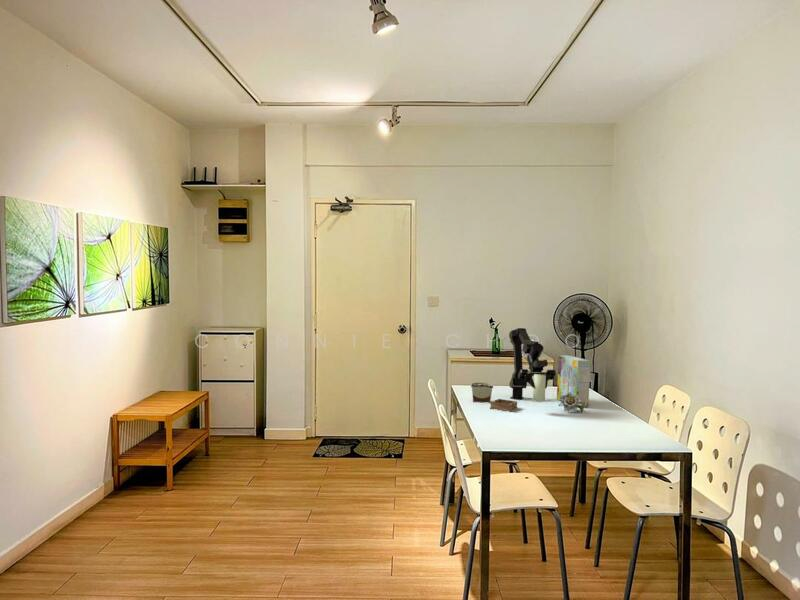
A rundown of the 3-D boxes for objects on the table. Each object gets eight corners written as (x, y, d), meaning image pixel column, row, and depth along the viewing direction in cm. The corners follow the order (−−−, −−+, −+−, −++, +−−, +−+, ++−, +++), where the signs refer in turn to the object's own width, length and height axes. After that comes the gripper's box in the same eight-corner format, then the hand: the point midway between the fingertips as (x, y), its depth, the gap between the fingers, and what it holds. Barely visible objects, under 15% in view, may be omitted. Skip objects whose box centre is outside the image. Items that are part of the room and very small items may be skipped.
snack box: (589, 407, 314) (592, 360, 313) (575, 407, 312) (577, 360, 311) (569, 398, 335) (571, 354, 334) (555, 399, 333) (557, 354, 332)
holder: (498, 405, 311) (498, 398, 311) (517, 408, 305) (517, 401, 305) (489, 408, 302) (490, 402, 302) (509, 412, 296) (510, 405, 296)
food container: (492, 400, 323) (492, 382, 322) (492, 402, 317) (493, 384, 316) (470, 399, 324) (470, 381, 324) (470, 401, 318) (471, 383, 317)
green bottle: (535, 398, 300) (536, 373, 299) (546, 400, 296) (547, 374, 296) (531, 400, 294) (532, 374, 294) (542, 402, 291) (543, 376, 291)
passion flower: (569, 422, 299) (557, 404, 298) (565, 414, 310) (554, 396, 308) (588, 412, 297) (576, 393, 295) (584, 404, 307) (572, 386, 306)
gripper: (520, 353, 297) (526, 378, 287) (555, 354, 299) (562, 379, 289) (515, 366, 306) (520, 391, 295) (549, 366, 307) (556, 391, 297)
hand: (540, 388), depth 294 cm, fingers closed on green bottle, 6 cm apart
